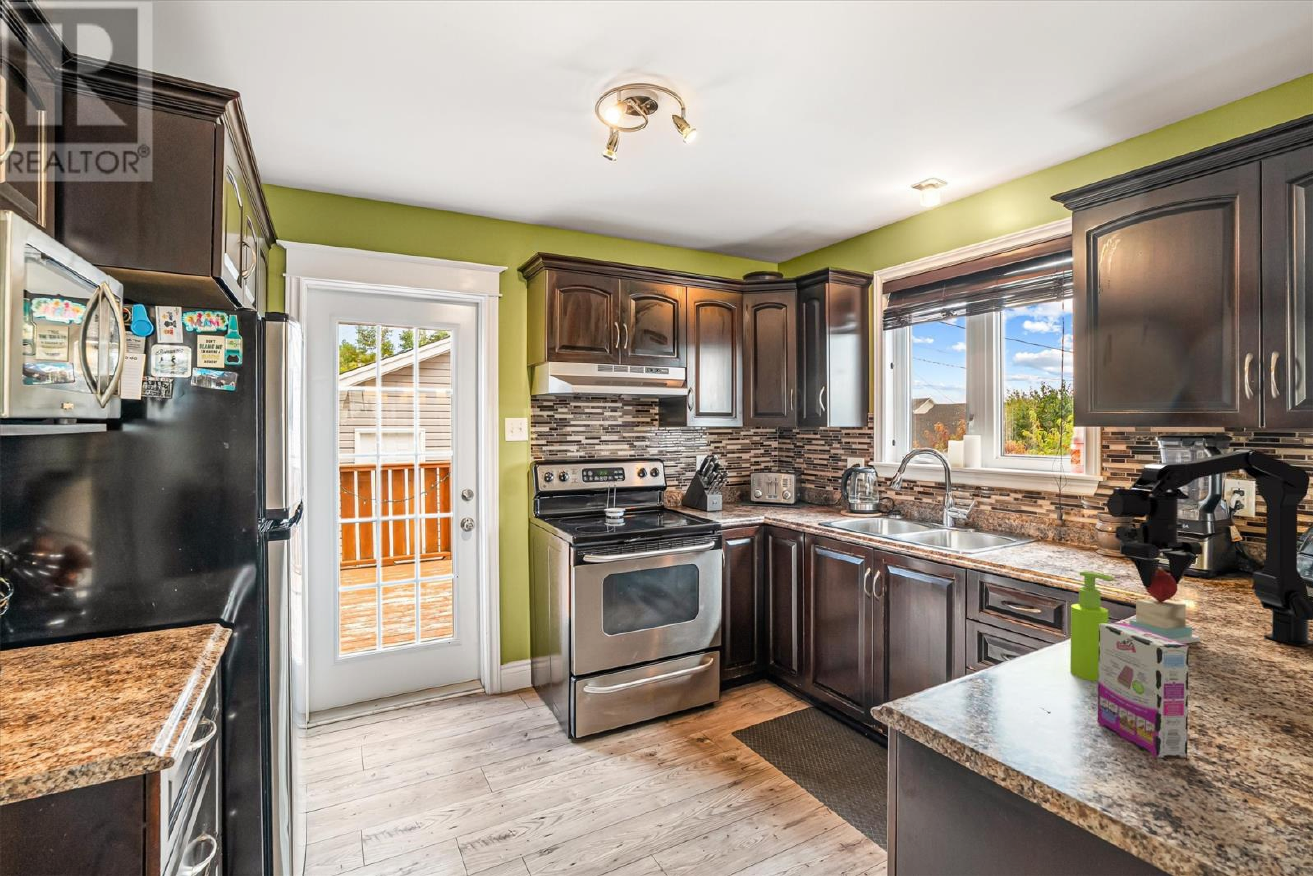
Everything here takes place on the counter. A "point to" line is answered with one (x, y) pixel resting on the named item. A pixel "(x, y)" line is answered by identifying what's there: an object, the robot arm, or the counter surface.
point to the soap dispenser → (1087, 628)
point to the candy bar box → (1143, 689)
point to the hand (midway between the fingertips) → (1160, 585)
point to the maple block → (1160, 613)
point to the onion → (1162, 586)
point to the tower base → (1169, 632)
